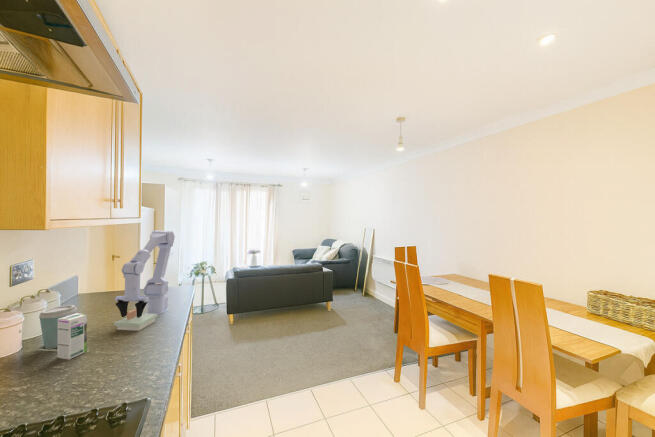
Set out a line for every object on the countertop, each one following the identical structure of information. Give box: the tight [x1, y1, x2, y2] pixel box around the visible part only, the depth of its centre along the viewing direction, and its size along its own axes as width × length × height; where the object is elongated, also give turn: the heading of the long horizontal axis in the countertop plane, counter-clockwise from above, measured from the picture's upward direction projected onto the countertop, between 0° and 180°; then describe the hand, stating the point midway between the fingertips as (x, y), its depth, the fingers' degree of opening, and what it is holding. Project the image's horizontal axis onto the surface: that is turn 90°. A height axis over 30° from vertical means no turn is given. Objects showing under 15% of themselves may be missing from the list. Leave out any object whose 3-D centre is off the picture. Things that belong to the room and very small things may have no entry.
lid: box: [114, 308, 158, 327], centre depth 121 cm, size 11×11×5 cm
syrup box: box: [57, 312, 88, 361], centre depth 96 cm, size 6×6×14 cm
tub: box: [116, 318, 156, 332], centre depth 121 cm, size 10×10×4 cm
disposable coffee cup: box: [38, 304, 78, 350], centre depth 102 cm, size 11×11×15 cm
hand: (131, 316), depth 121 cm, fingers open, 7 cm apart
